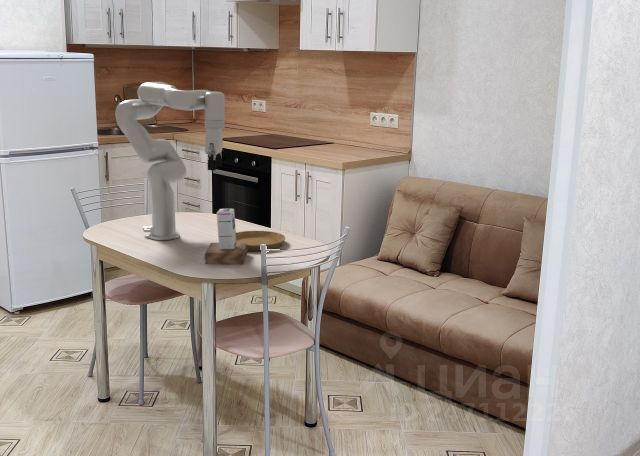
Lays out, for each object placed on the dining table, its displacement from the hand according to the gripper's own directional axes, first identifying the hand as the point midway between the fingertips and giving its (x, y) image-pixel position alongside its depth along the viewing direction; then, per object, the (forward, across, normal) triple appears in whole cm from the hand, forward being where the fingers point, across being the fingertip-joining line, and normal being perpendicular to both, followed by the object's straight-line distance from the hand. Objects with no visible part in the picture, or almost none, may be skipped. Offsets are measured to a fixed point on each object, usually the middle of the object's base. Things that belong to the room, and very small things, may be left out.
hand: (214, 167), depth 282 cm
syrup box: (+27, +18, +9) cm, 34 cm away
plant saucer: (+32, -4, +16) cm, 36 cm away
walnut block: (+32, +18, +9) cm, 38 cm away
